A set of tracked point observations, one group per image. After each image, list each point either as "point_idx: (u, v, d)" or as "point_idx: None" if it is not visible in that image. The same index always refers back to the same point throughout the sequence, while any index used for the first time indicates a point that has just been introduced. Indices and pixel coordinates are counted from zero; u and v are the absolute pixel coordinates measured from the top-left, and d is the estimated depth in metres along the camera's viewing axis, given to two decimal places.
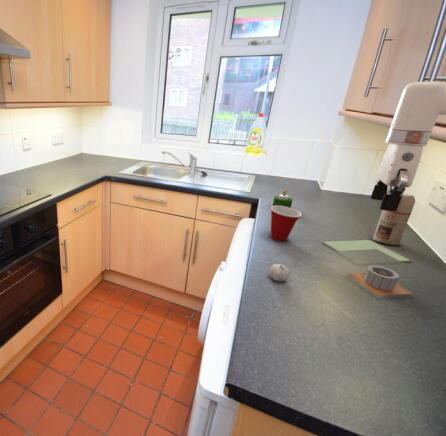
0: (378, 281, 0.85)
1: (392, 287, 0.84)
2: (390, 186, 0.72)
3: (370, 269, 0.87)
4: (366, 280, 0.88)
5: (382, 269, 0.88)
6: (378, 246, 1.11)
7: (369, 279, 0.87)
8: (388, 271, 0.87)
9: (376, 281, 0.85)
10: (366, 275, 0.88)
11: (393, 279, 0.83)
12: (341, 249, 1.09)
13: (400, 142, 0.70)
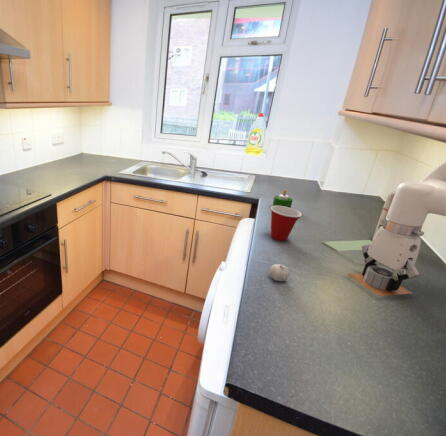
0: (378, 281, 0.85)
1: None
2: (397, 273, 0.81)
3: (370, 269, 0.87)
4: (366, 280, 0.88)
5: (382, 269, 0.88)
6: None
7: (369, 279, 0.87)
8: (388, 271, 0.87)
9: (376, 281, 0.85)
10: (366, 275, 0.88)
11: None
12: (341, 249, 1.09)
13: (406, 235, 0.78)
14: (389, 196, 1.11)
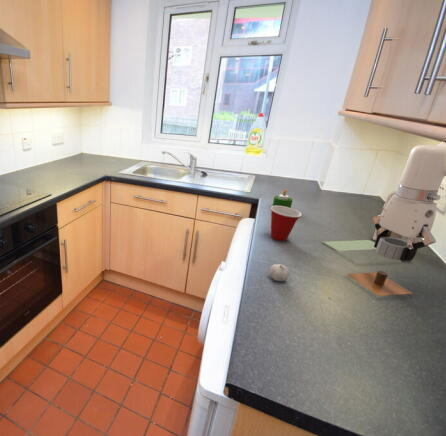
0: (391, 251, 0.81)
1: None
2: (412, 241, 0.78)
3: (383, 240, 0.84)
4: (379, 251, 0.84)
5: (395, 240, 0.85)
6: None
7: (382, 250, 0.83)
8: (401, 242, 0.84)
9: (389, 251, 0.82)
10: (378, 246, 0.85)
11: None
12: (341, 249, 1.09)
13: (421, 201, 0.75)
14: (389, 196, 1.11)
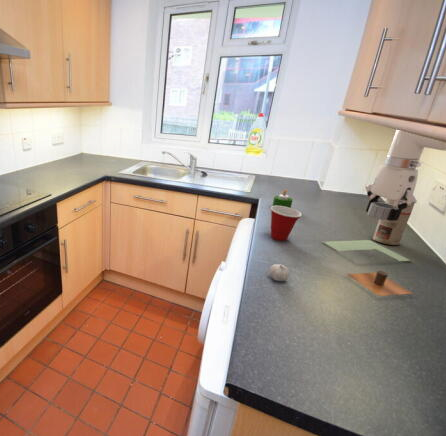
0: (380, 213, 0.96)
1: None
2: (397, 203, 0.93)
3: (373, 204, 0.99)
4: (370, 214, 0.99)
5: (384, 204, 1.00)
6: (378, 246, 1.11)
7: (372, 212, 0.98)
8: (389, 205, 0.99)
9: (378, 212, 0.97)
10: (370, 210, 0.99)
11: None
12: (341, 249, 1.09)
13: (405, 168, 0.90)
14: None
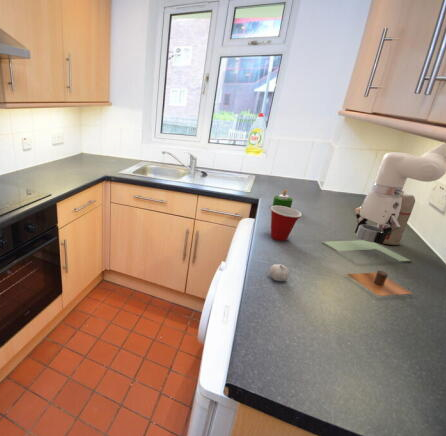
0: (367, 235, 1.03)
1: None
2: (383, 227, 1.00)
3: (361, 226, 1.06)
4: (358, 235, 1.06)
5: (371, 227, 1.07)
6: (378, 246, 1.11)
7: (360, 234, 1.05)
8: (376, 228, 1.06)
9: (366, 235, 1.04)
10: (358, 231, 1.07)
11: None
12: (341, 249, 1.09)
13: (389, 195, 0.97)
14: None
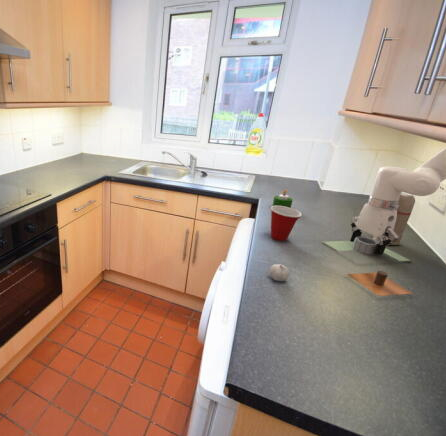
0: (363, 248, 1.05)
1: None
2: (381, 238, 1.00)
3: (357, 239, 1.08)
4: (354, 248, 1.08)
5: (367, 239, 1.09)
6: None
7: (356, 247, 1.07)
8: (371, 240, 1.08)
9: (361, 247, 1.06)
10: (354, 244, 1.08)
11: (375, 246, 1.04)
12: (341, 249, 1.09)
13: (385, 208, 0.98)
14: None
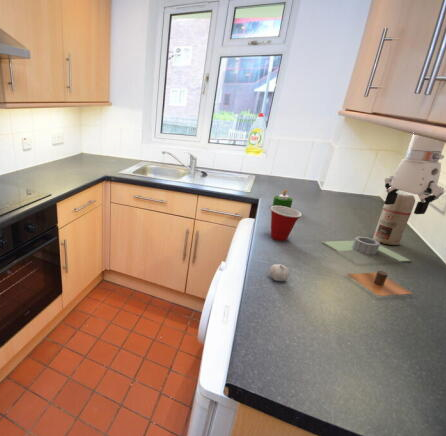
0: (363, 248, 1.05)
1: (374, 252, 1.05)
2: (423, 195, 0.90)
3: (357, 239, 1.08)
4: (354, 248, 1.08)
5: (367, 239, 1.09)
6: None
7: (356, 247, 1.07)
8: (371, 240, 1.08)
9: (361, 247, 1.06)
10: (354, 244, 1.08)
11: (375, 246, 1.04)
12: (341, 249, 1.09)
13: (427, 160, 0.88)
14: None
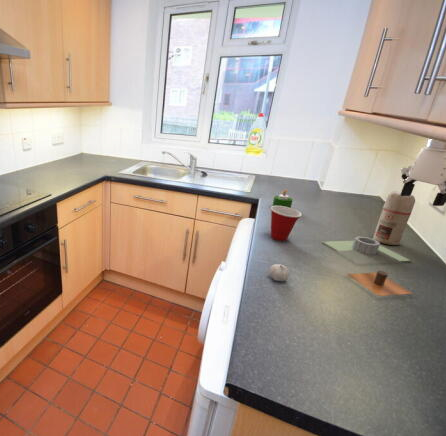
0: (363, 248, 1.05)
1: (374, 252, 1.05)
2: (443, 186, 0.86)
3: (357, 239, 1.08)
4: (354, 248, 1.08)
5: (367, 239, 1.09)
6: None
7: (356, 247, 1.07)
8: (371, 240, 1.08)
9: (361, 247, 1.06)
10: (354, 244, 1.08)
11: (375, 246, 1.04)
12: (341, 249, 1.09)
13: None
14: (389, 196, 1.11)
